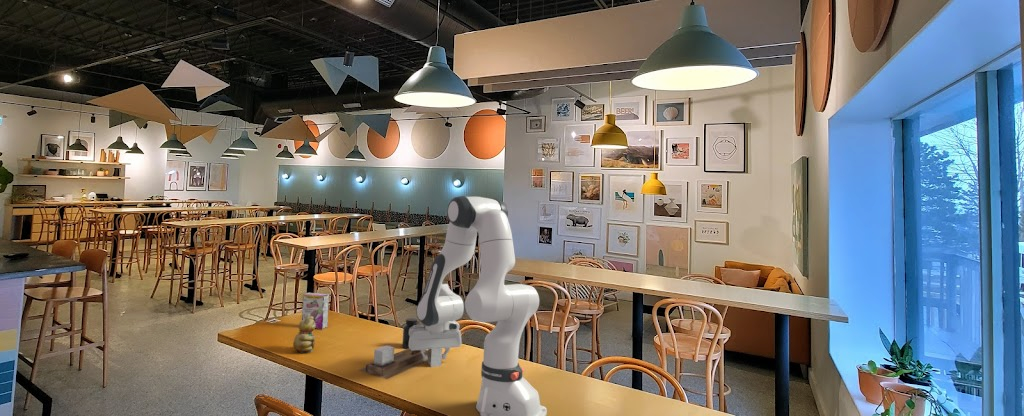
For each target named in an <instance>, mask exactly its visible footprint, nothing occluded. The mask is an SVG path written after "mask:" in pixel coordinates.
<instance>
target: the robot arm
mask: <svg viewBox="0 0 1024 416" xmlns="http://www.w3.org/2000/svg"><path fill="white" fill-rule="evenodd" d="M508 216H509V211H508V207H507V205H506V203H505V202H504V201H502V200H500V199H497V198H489V197H482V196H464V195H460V196H455V197H453V198H452V199H451V200H450V202H449V203H448V204H447V218H448V220H449V223H448V227H447V230H446V234H445V241H444V244H443V247H442V249H441V251H440V252H439V253H438V255H437V254H436V256H435V258H434V259H433V260H432V264H431V267H430V270H429V272H428V276H427V279H426V283H425V286H424V289H423V293H422V294H421V297H420V300H419V301H418V303H417V306H416V310H415V312H416V313H415V314H416V317H417V320H418V321H420V323H422V324H419V325H414V326H413V327H411V328H410V329H409V336H410V338H409V348H410V350H412V351H414V350H420V351H421V353H422V355H423V361H427V358H428V356H427V355H424V353H423V352H425V350H428V349H431V348H435V347H442V349H444V352H443V353H442V359H441V360H447V355H448V353H449V351H450V349H451V348H459V347H461V345H462V332H461V331H460V324H459V322H457V321H458V320H460V319H461V318H463V316H464V315H465V311H466V314H467V316H468V317H469V318H470V319H471V321H473V322H477V323H478V322H479V323H493V322H497V323H496V324H495V327H494V328H492V330H491V331H490V332H488V333H487V334H486V336H485V338H484V340H483V341H484V342H483V356H482V357H483V358H482V359H483V361H482V362H481V370H480V374H481V384H480V389H479V394H478V398H477V399H478V400H477V401H476V404H475V408H476V410H477V412H479V415H480V416H547V414H548V410H547V407H546V406H544V405H541V401H540V400H541V399H540V395H539V392H538V390H537V389H536V388H534V387H533V386H532V385H531V383H530V382H529V381H528V380H527V379H526V378H524V376H523V373H524V372H525V369H526V367H525V366H524V367H521V366H520V363H519V353H520V352H519V350H520V342H521V338H522V335H523V331H524V329H525V327H526V325H527V323H528V322H529V320H530V319H531V317H533V315H534V314H535V313H536V312H537V311H538V309H539V306H540V296H539V293H538V291H537V289H536V288H535V287H533V286H532V285H529V284H525V283H524V284H522V283H512V284H505V278H506V275H507V273H509V272H510V271H511V270H512V269H514V267H515V265H516V256H515V249H514V248H515V247H514V246H515V245H514V239H513V234H512V228H511V225H510V221H509V218H508ZM477 236H478V243H479V254H480V273H479V276H478V279H477V282H476V284H475V286H474V287H473V288H472V289H471V290H470V291H469V292H468V294H467V296H466V298H465V300H464V299H463V297H462V296H460V295H459V294H457V293H455V292H454V291H452V290H451V289H450V286H449V284H448V283H446V282H444V279H445V278H446V276H447V275H448V274H449V273H451V272H452V271H453V270H456V269H457V268H458V269H459V268H460V267H462V266H464V265H466V264H467V263H469V261H471V260H472V258H473V256H474V253H475V249H476V244H477ZM427 362H428V361H427Z"/></svg>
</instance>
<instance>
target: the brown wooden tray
mask: <svg viewBox="0 0 1024 416" xmlns="http://www.w3.org/2000/svg"><path fill="white" fill-rule="evenodd" d="M423 353H424V355H427V356H428V349H427V350H425V352H423ZM426 362H427V363H428V358H427V361H423V355H422V353H421V351H420V350H414V351H412V350H410V348H408V349H407V348H405V349H403V350H401V351H398V352H396V353H394V363H393V364H390V365H388V366H385V367H383V368H381V367H377V366H374V361H373V362H369V363H368V364H365V367H364V368H361V369H359V370H358V371H359V372H361V373H364V374H369V375H373V376H376V377H379V378H383V379H386V380H388V379H391V378H393V377H395V376H397V375H399V374H402V373H404V372H406V371H408V370H411V369H413V368H415V367H418V366H419V365H421V364H424V363H426Z"/></svg>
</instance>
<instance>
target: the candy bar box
mask: <svg viewBox="0 0 1024 416" xmlns="http://www.w3.org/2000/svg"><path fill="white" fill-rule="evenodd" d="M329 299H330V294H327V293H316V292H305V293H303V294H302V306H301V307H302V310H301V311H302V314H301V321H302V320H304V318H305V317H306V315H308V314H310V316H313V317H314V319H313V320H314V322H315V323H316V328H319V329H318V330H324V329H326V328H328V322H329V321H328V320H329V303H330V301H329ZM325 327H326V328H325ZM323 328H324V329H323Z"/></svg>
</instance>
